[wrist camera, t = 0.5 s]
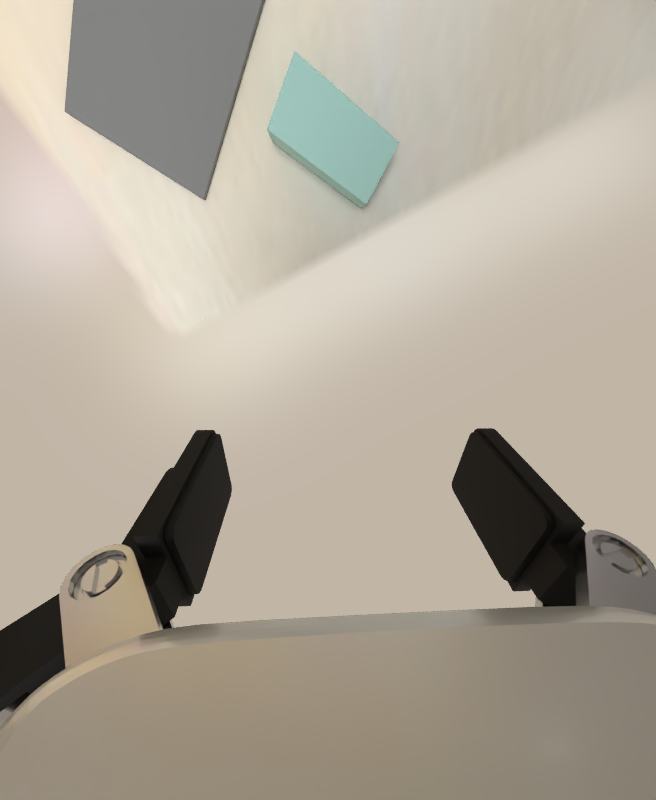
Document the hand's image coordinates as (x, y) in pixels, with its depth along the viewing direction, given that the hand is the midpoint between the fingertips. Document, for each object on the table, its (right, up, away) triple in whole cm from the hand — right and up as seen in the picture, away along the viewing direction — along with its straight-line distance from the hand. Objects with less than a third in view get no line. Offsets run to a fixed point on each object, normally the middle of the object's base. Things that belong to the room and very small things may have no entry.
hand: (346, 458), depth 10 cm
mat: (-13, +33, +11) cm, 37 cm away
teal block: (0, +27, +16) cm, 31 cm away
